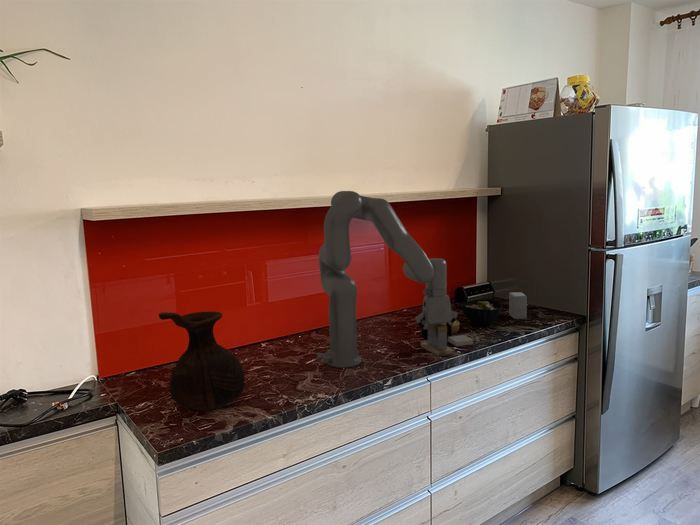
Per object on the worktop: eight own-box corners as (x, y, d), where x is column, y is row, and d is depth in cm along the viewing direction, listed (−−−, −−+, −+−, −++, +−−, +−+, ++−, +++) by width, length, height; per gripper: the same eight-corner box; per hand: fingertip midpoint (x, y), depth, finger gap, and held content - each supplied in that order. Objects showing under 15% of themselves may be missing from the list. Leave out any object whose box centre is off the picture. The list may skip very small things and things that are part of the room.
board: (436, 355, 190) (436, 352, 190) (420, 345, 202) (420, 342, 202) (454, 353, 192) (454, 350, 192) (436, 343, 204) (436, 340, 204)
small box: (526, 318, 235) (527, 295, 233) (514, 319, 235) (514, 296, 233) (521, 314, 242) (521, 291, 241) (508, 314, 243) (509, 292, 241)
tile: (456, 341, 200) (473, 339, 201) (448, 336, 206) (464, 334, 208) (456, 347, 200) (473, 345, 202) (448, 342, 207) (464, 340, 208)
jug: (173, 393, 163) (165, 299, 159) (244, 385, 168) (238, 293, 164) (165, 424, 142) (155, 316, 138) (247, 414, 147) (240, 309, 143)
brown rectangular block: (438, 350, 192) (437, 327, 190) (426, 343, 200) (426, 321, 199) (447, 349, 193) (447, 326, 192) (435, 342, 201) (435, 320, 200)
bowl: (453, 324, 230) (453, 302, 228) (476, 316, 241) (476, 295, 239) (487, 331, 217) (487, 308, 215) (509, 323, 228) (509, 300, 227)
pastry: (424, 333, 220) (423, 312, 218) (444, 327, 227) (443, 307, 225) (446, 338, 210) (445, 317, 209) (466, 332, 217) (465, 311, 216)
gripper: (419, 296, 187) (420, 343, 190) (462, 291, 193) (462, 336, 196) (410, 292, 194) (411, 337, 197) (451, 288, 200) (451, 331, 203)
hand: (436, 337), depth 196 cm, fingers open, 9 cm apart
